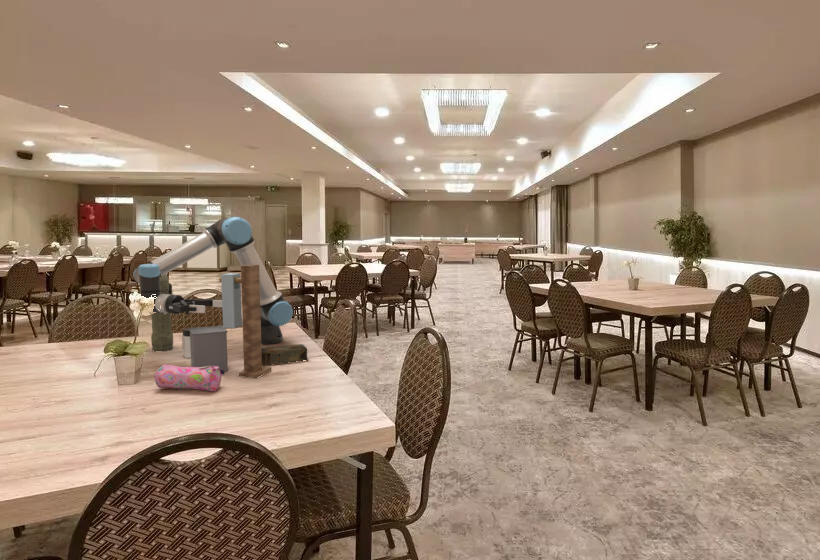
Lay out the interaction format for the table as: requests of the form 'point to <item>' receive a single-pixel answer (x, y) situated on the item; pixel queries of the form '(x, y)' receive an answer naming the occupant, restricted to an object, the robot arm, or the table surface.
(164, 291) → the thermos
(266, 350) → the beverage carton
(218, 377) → the pencil case
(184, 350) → the jar
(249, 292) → the walnut stand
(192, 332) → the lidded box
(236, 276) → the grey tall block
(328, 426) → the table surface
